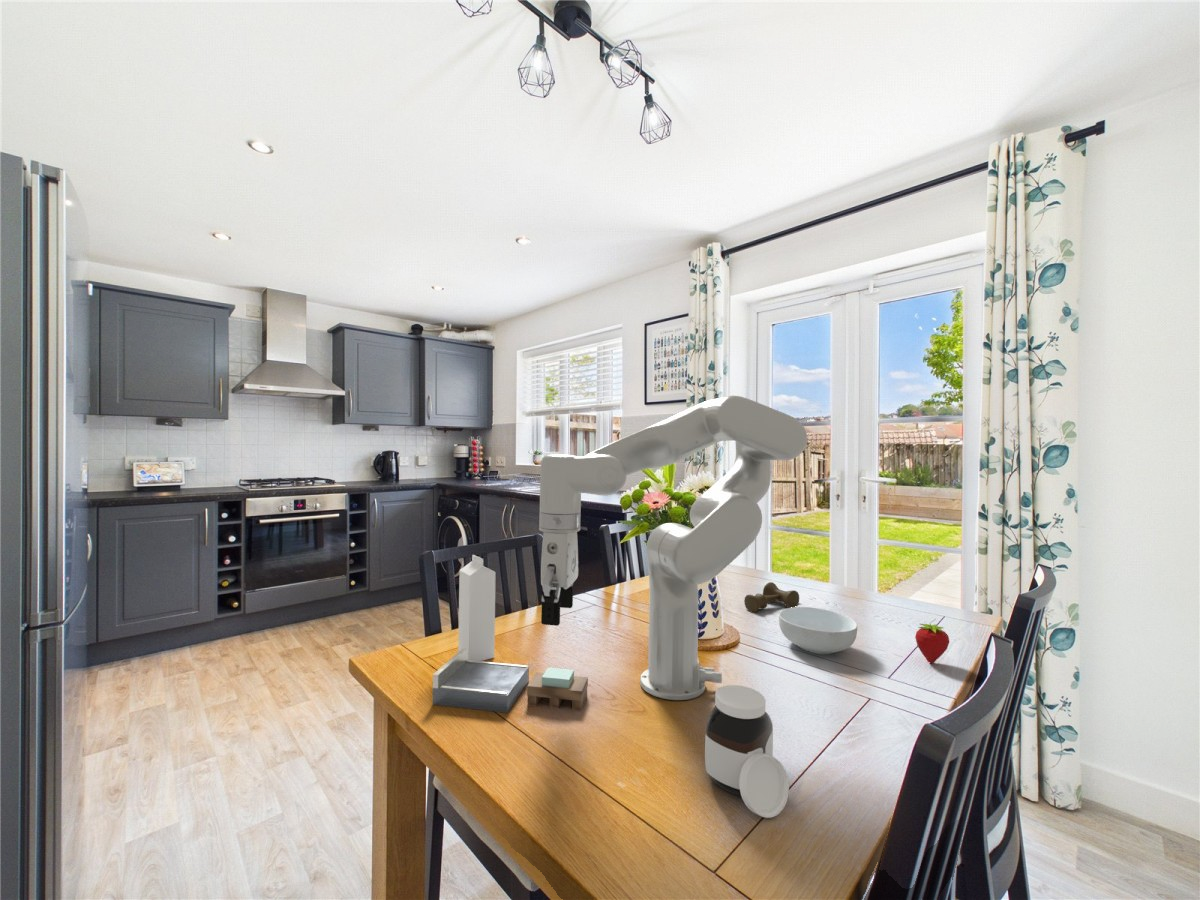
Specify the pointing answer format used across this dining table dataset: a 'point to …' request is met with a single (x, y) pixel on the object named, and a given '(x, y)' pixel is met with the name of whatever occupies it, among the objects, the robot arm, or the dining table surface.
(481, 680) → the tray
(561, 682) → the cargo
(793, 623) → the cereal bowl
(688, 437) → the robot arm
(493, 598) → the milk
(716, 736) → the spread jar
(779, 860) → the dining table surface
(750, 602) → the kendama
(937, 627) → the strawberry
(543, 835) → the dining table surface
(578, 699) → the pallet
